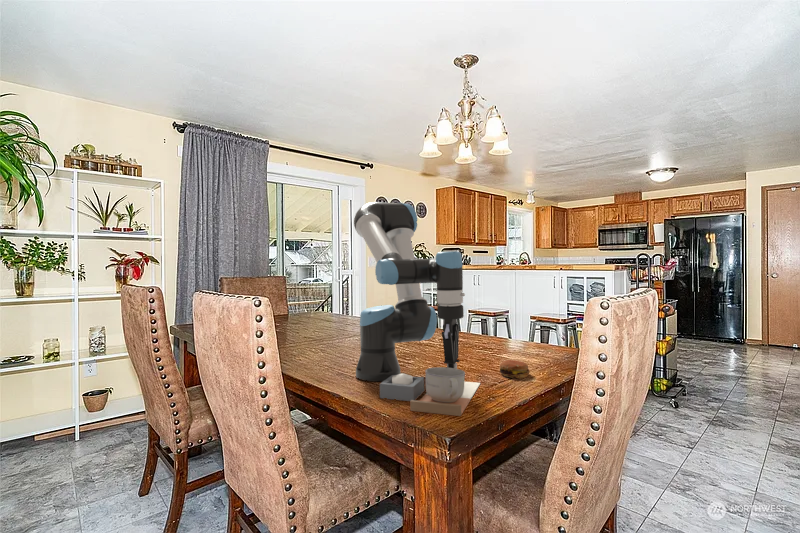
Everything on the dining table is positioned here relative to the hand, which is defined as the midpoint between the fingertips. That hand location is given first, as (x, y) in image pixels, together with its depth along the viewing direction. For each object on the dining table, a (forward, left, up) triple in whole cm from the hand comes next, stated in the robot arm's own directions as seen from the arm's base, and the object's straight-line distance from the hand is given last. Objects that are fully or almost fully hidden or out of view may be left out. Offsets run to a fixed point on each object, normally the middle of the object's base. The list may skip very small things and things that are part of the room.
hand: (452, 385), depth 121 cm
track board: (0, -4, -2) cm, 4 cm away
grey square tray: (-13, -6, -2) cm, 15 cm away
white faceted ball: (-13, -6, -2) cm, 15 cm away
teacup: (0, -9, -2) cm, 10 cm away
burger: (+15, +24, -2) cm, 29 cm away
